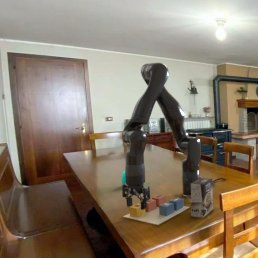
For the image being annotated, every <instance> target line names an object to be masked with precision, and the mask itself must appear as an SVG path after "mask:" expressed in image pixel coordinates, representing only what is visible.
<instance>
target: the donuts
mask: <svg viewBox="0 0 258 258" xmlns="http://www.w3.org/2000/svg"><path fill="white" fill-rule="evenodd" d="M121 184H122V185H124V184H126V178H125V170H123V172H122V173H121Z"/></svg>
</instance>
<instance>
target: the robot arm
mask: <svg viewBox="0 0 258 258" xmlns="http://www.w3.org/2000/svg"><path fill="white" fill-rule="evenodd" d="M140 74H141V77H142V79H143V81H144V82H145V84H146V85H147V88H146V89H145V91H144V93H142V95H141V96H140V97H139V99H138V101H136V103H135V105H134V108H133V110H132V113H131V116H130V119H129V120H128V121H127V123H126V124H125V126H124V128H123V130H122V132H121V140H122V143H124V144H126V145H130V146H129V150H127V151H126V152H125V158H124V159H125V160H124V161H125V167H124V171H125V178H126V184H124V185H123V184H122V187H121V189H122V190H121V191H122V192H121V193H122V198H125V200H126V207H127V208H129V207H131V206H133V205H134V203H133V196H134V197H136V198H137V199H139V201H140V204H141V210H144V209H146V207H147V200H150V199H151V189H150V186H145V185H144V184H145V183H146V167H145V151H146V146H147V140H148V138H147V137H148V136H147V134H146V132H145V131H144V130H142V128H143V127H144V126H147V125H148V124H149V122H150V118H151V116H152V114H153V113H152V112H153V109H154V107H155V104H156V103H157V104H158V106H159V109H160V111H161V113H162V115H163V117H164V119H165V121H166V122H167V124H168V126H169V128H170V130H171V133H172V135H173V137H174V141H175V143H176V145H177V148H178V149H179V151H180V152H182V153H185V154H186V158H184V159H182V160H181V183H182V184H181V185H182V196H183V197H187V198H188V197H190V198H191V183H193V182H195V181H196V180H198V179H200V178H202V176H201V175H200V173H201V172H200V162H201V157H202V142H201V140H200V139H199V138H198V137H195V136H189V134H188V132H187V131H186V129H185V113H184V110H183V108H182V106H181V104H180V102H179V101H178V100H177V99H176V98H175V97H174V96H173V95H172V94H171V92H169V91H168V89H167V88H166V86H165V85H166V84H167V82H168V78H169V77H170V70H169V67H168V66H167V65H166V64H164V63H163V62H149V63H144V64H143V65H142V66H141V67H140ZM220 180H222V181H226V179H225V178H224V177H219V178H216V179H214V180H212V187H213V186H214V183H215V182H217V181H220Z"/></svg>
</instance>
